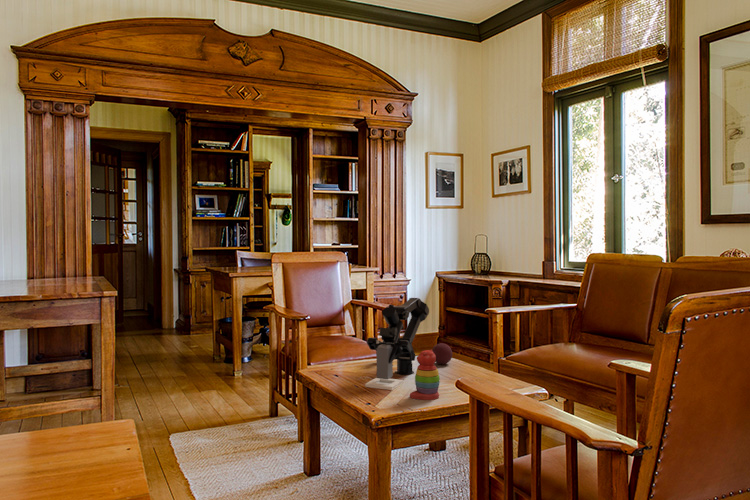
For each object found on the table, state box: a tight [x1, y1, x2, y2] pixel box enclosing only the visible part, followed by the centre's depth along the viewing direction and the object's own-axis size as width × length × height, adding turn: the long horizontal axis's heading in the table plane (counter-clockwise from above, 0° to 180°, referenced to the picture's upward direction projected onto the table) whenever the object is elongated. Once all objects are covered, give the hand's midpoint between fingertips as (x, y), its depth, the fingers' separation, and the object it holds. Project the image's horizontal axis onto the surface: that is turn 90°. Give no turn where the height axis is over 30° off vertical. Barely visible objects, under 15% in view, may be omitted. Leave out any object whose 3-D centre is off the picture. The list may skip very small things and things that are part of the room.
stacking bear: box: [409, 349, 441, 401], centre depth 209 cm, size 11×10×18 cm
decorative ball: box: [431, 342, 453, 365], centre depth 263 cm, size 10×10×10 cm
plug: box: [375, 344, 394, 379], centre depth 226 cm, size 5×5×13 cm
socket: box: [364, 377, 404, 391], centre depth 226 cm, size 12×12×1 cm
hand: (383, 362), depth 224 cm, fingers closed on plug, 5 cm apart
